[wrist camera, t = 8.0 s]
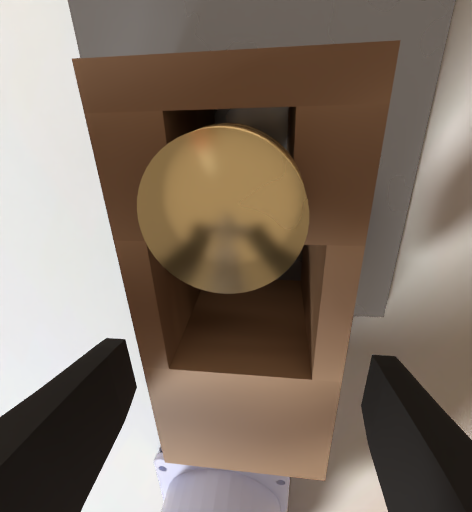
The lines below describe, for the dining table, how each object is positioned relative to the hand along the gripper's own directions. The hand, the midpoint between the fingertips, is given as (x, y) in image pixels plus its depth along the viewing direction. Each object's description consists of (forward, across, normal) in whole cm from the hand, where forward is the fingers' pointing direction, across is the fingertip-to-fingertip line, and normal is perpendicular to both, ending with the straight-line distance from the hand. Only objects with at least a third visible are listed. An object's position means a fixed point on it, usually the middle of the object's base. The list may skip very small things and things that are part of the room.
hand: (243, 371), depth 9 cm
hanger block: (+3, 0, -2) cm, 4 cm away
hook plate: (+4, 0, -6) cm, 7 cm away
